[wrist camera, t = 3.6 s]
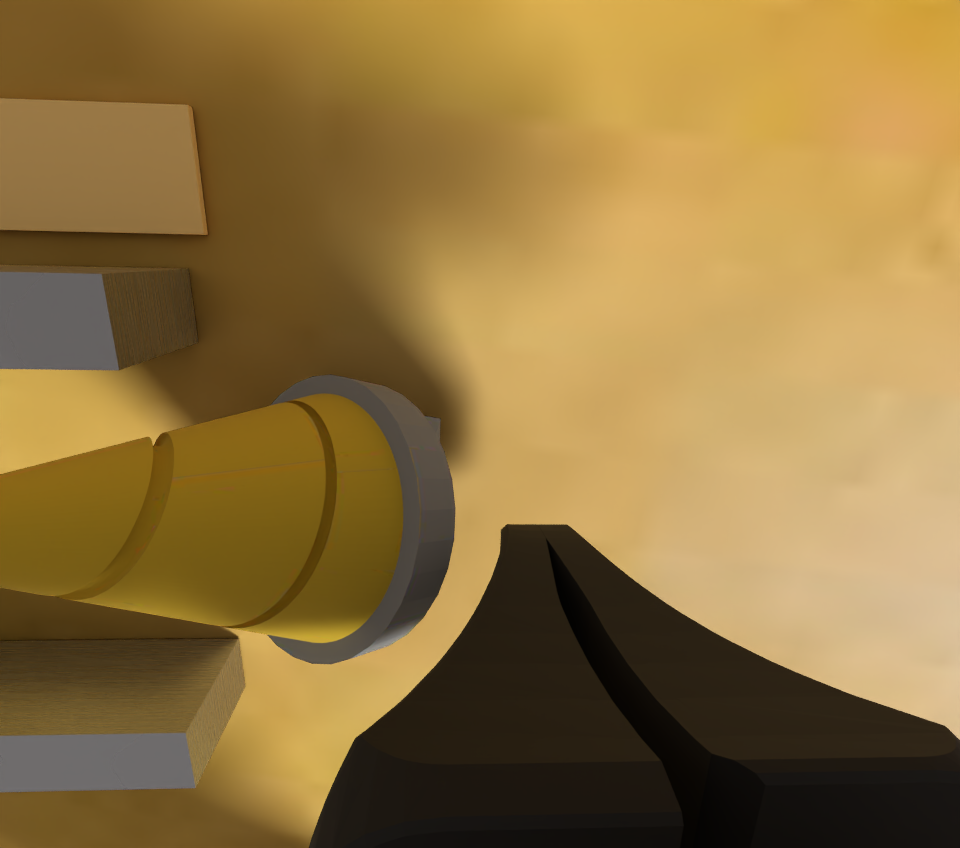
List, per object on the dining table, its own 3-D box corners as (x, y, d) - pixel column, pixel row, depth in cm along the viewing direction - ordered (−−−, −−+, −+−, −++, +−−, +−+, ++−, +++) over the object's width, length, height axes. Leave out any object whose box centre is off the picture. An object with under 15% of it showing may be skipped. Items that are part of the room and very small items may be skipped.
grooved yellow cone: (336, 538, 15) (-262, 597, 7) (411, 367, 14) (-181, 203, 6) (467, 672, 12) (-289, 1030, 4) (574, 467, 11) (-142, 412, 3)
